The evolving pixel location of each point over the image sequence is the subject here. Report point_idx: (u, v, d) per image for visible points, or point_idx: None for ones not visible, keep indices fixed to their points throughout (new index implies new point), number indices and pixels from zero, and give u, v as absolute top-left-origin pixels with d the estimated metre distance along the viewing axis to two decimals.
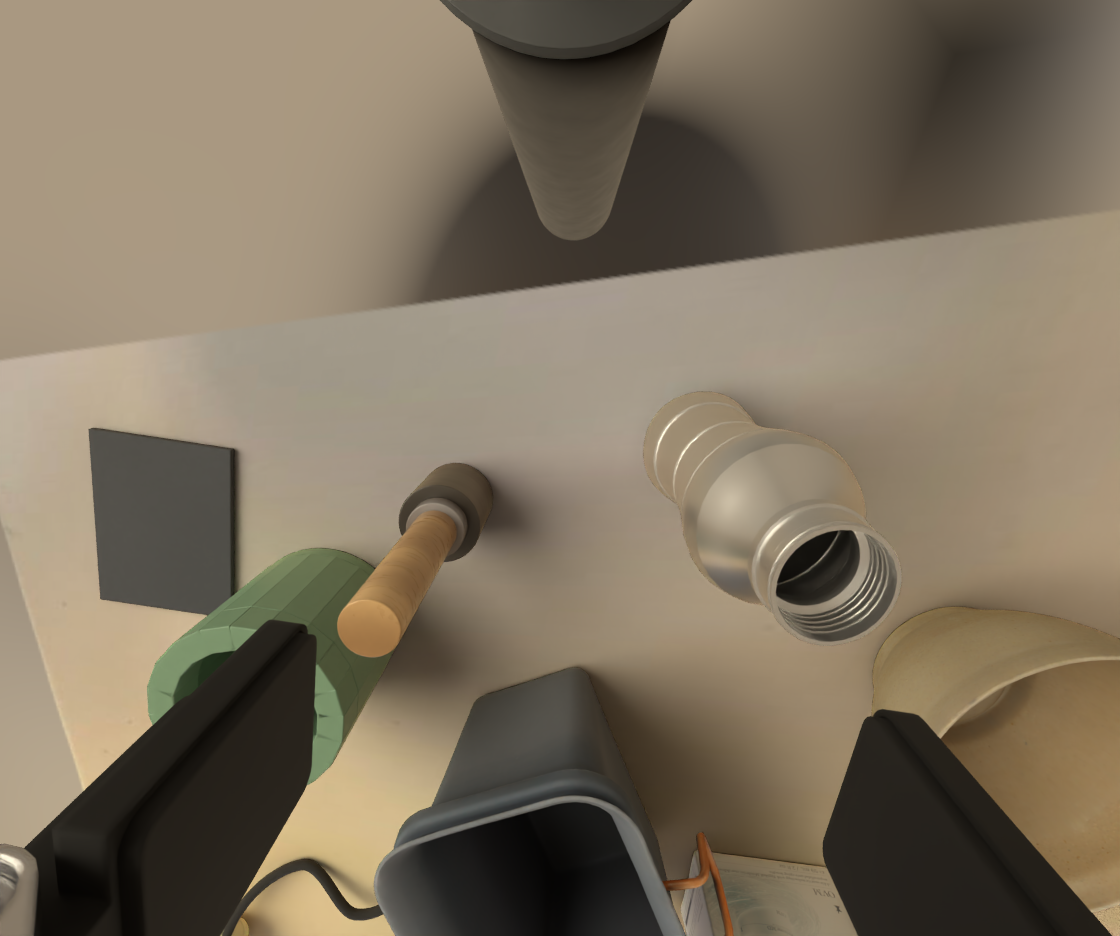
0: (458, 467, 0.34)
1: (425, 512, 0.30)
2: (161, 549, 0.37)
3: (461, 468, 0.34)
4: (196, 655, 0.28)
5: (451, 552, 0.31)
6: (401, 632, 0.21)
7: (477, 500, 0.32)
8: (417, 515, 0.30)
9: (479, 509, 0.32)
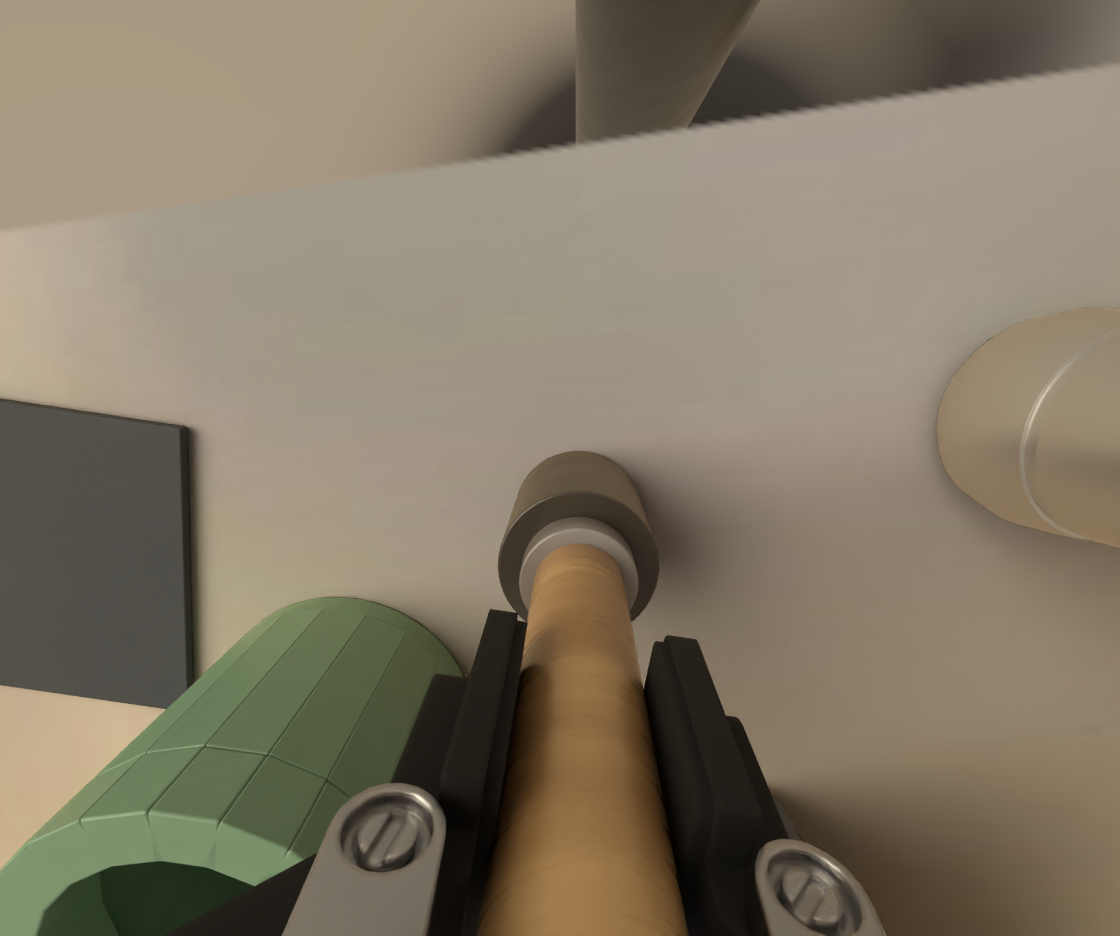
0: (589, 458, 0.19)
1: (563, 548, 0.14)
2: (67, 599, 0.22)
3: (594, 460, 0.19)
4: (76, 870, 0.13)
5: None
6: None
7: (646, 521, 0.17)
8: (545, 554, 0.15)
9: None
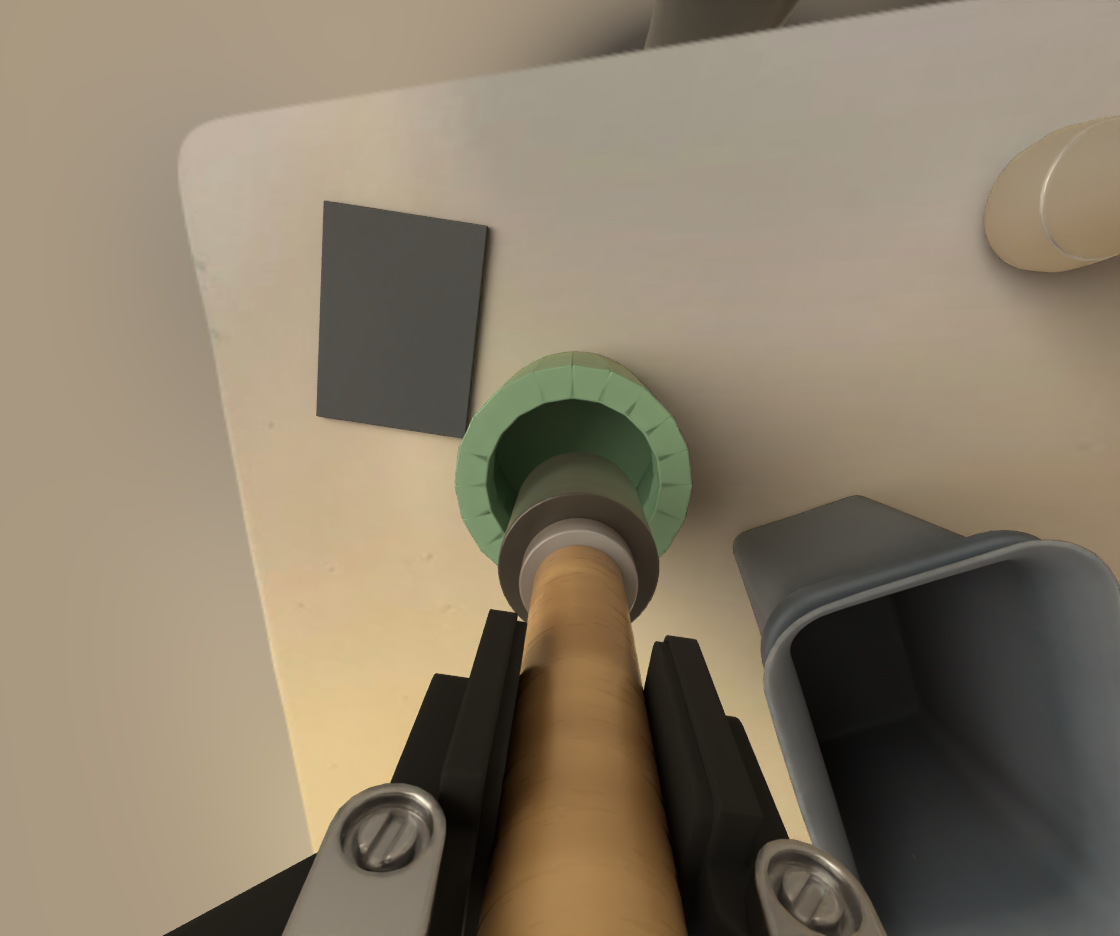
0: (589, 459, 0.19)
1: (563, 549, 0.14)
2: (393, 352, 0.32)
3: (594, 461, 0.19)
4: (525, 404, 0.23)
5: None
6: None
7: (647, 522, 0.17)
8: (544, 555, 0.15)
9: None
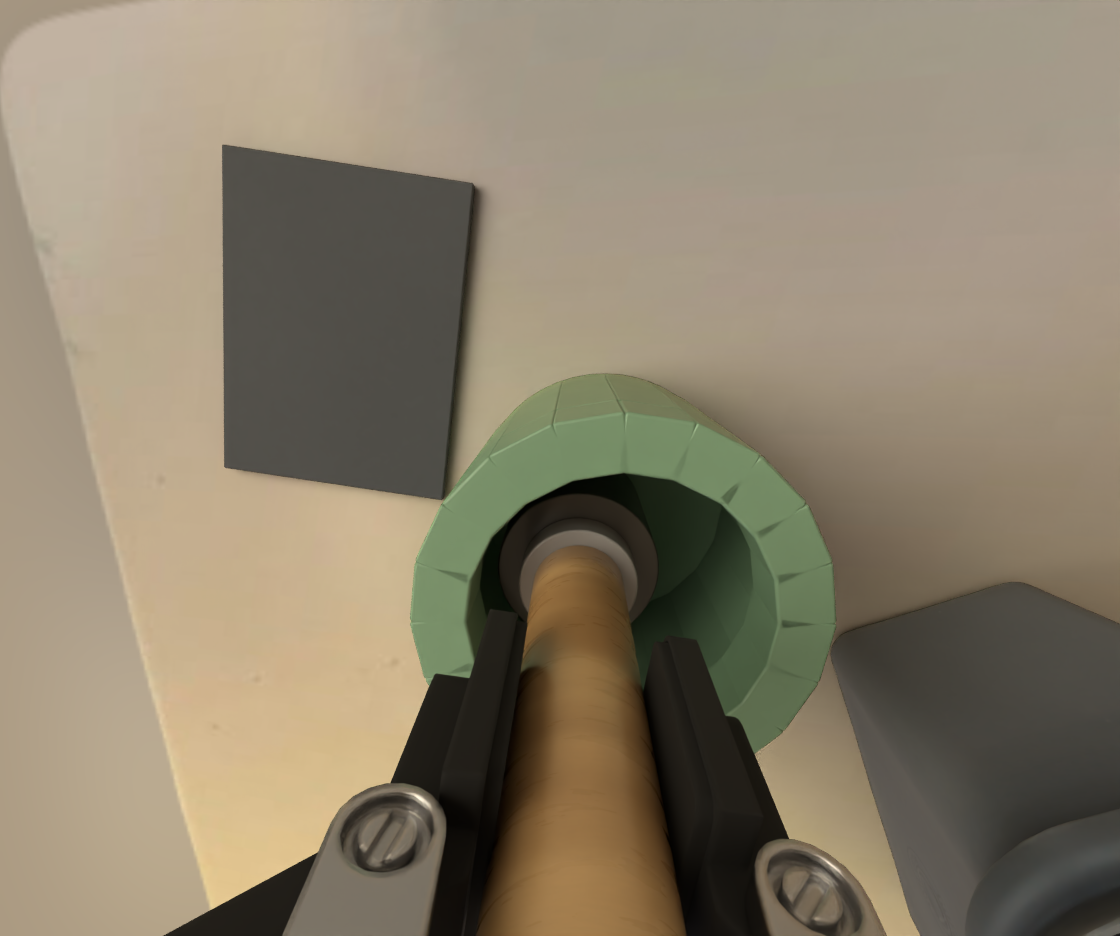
0: None
1: (563, 550, 0.14)
2: (335, 375, 0.22)
3: None
4: (537, 484, 0.13)
5: None
6: None
7: (646, 522, 0.17)
8: (544, 555, 0.15)
9: None
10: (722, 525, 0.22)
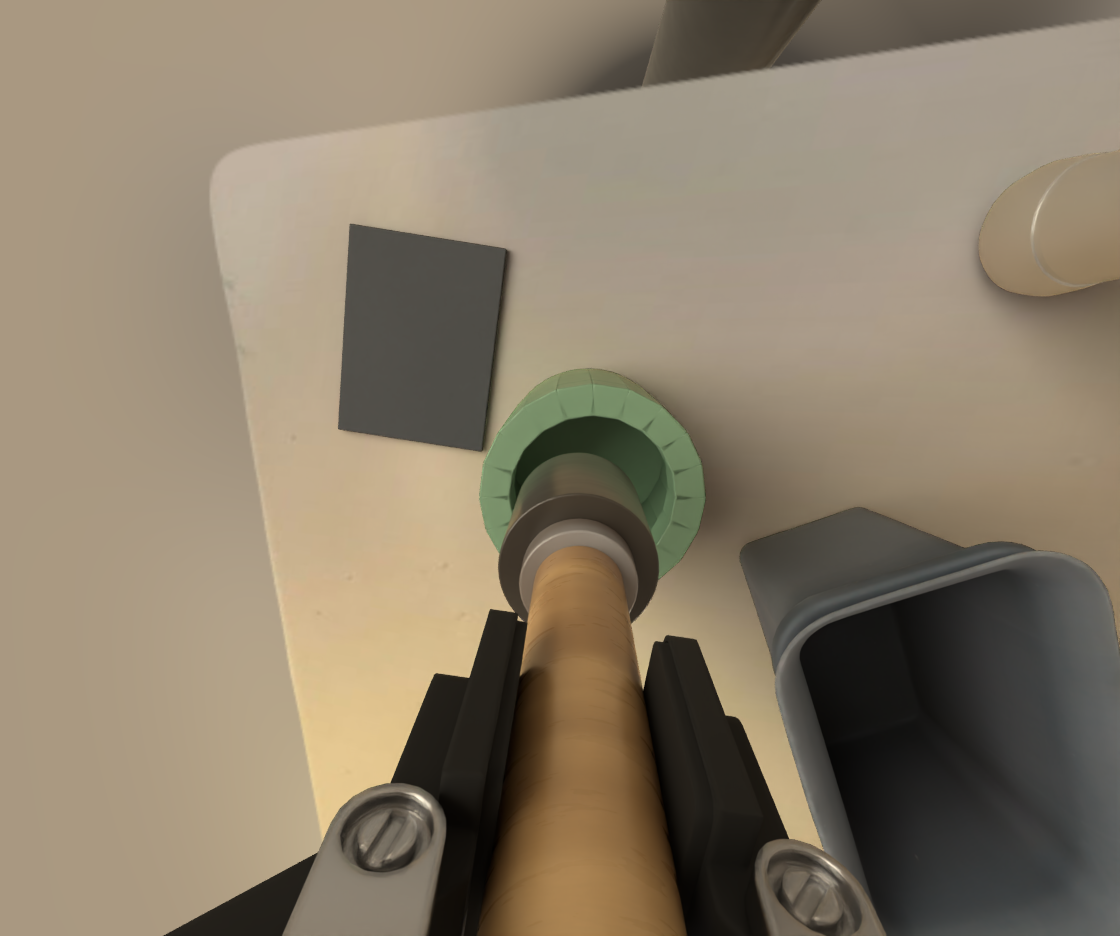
0: (588, 460, 0.19)
1: (563, 550, 0.14)
2: (414, 368, 0.34)
3: (594, 461, 0.19)
4: (548, 421, 0.25)
5: None
6: None
7: (646, 523, 0.17)
8: (545, 555, 0.15)
9: None
10: (663, 466, 0.34)
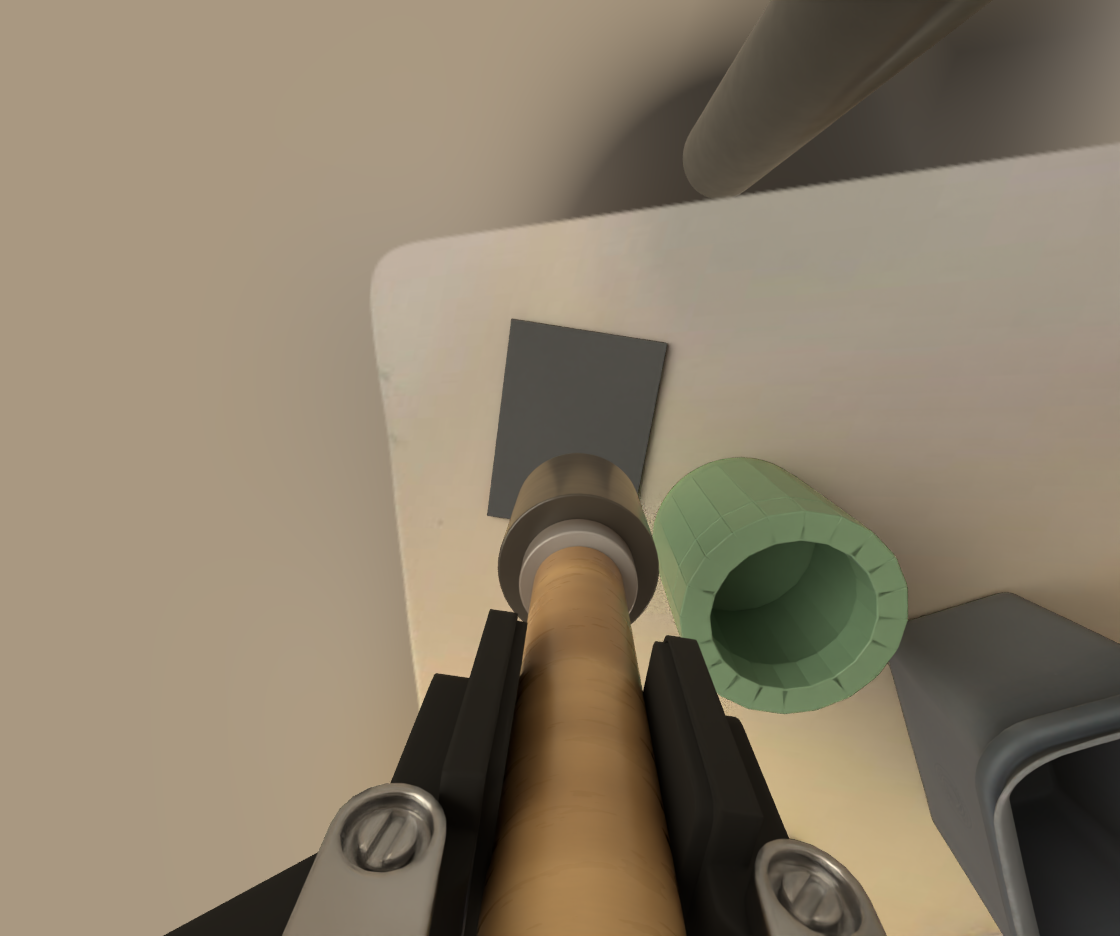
0: (588, 460, 0.19)
1: (563, 550, 0.14)
2: None
3: (594, 462, 0.19)
4: (756, 546, 0.25)
5: None
6: None
7: (646, 523, 0.17)
8: (544, 556, 0.15)
9: None
10: (817, 555, 0.34)
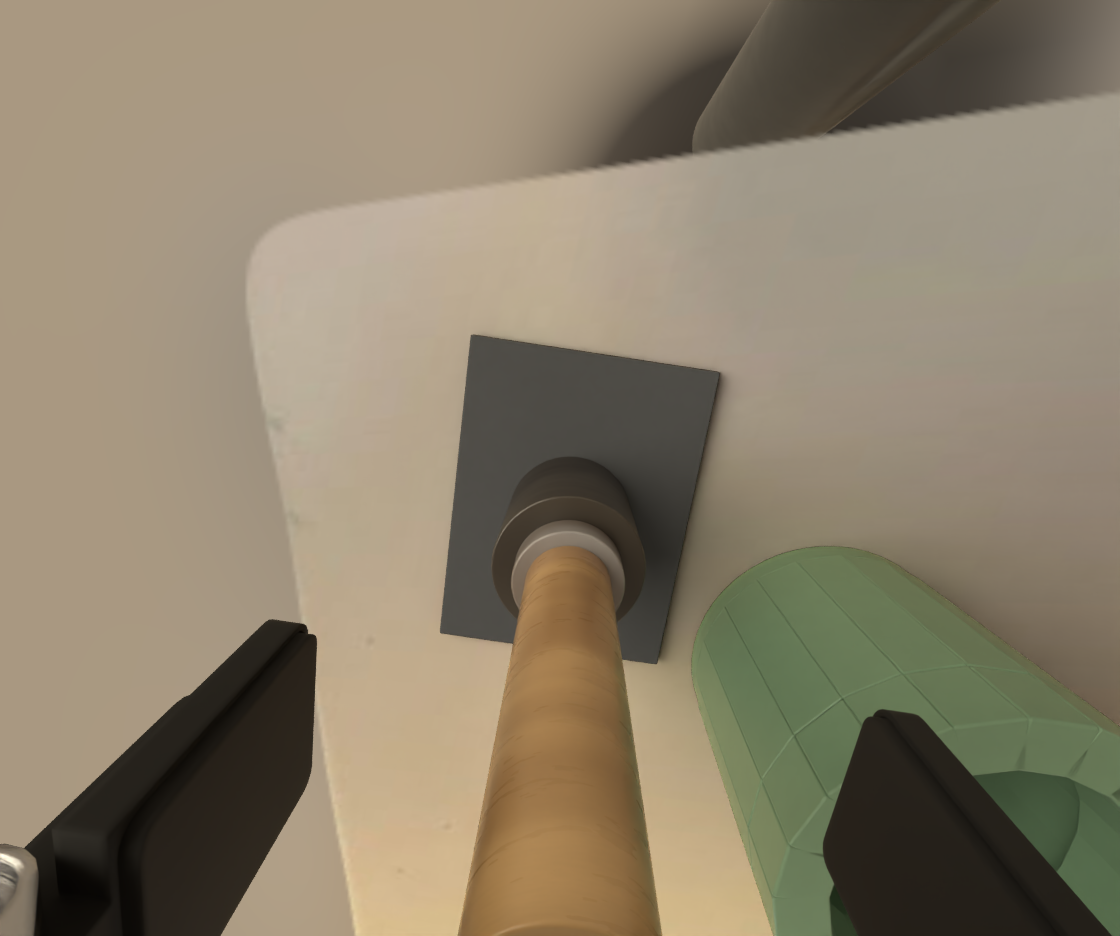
0: (579, 464, 0.20)
1: (553, 550, 0.15)
2: None
3: (585, 465, 0.20)
4: None
5: None
6: None
7: (634, 524, 0.17)
8: (535, 555, 0.15)
9: None
10: None
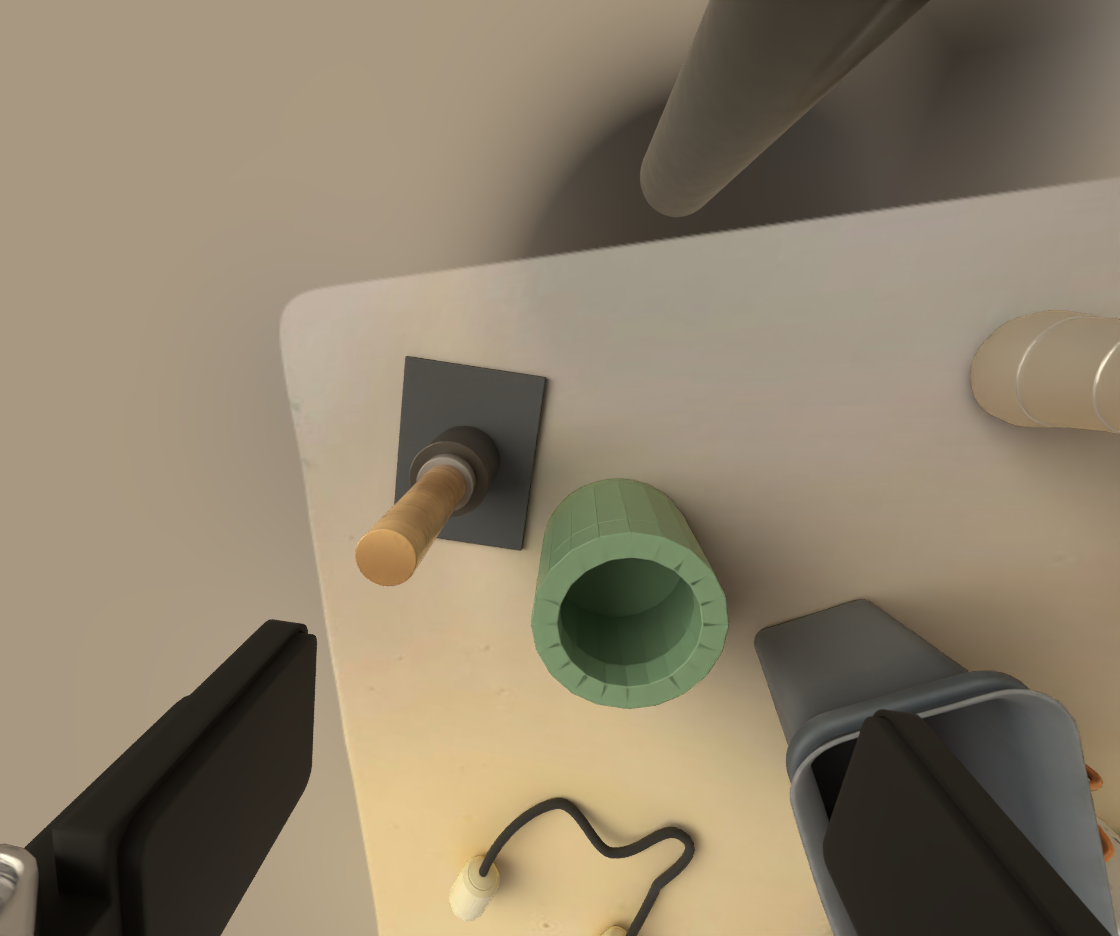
0: (466, 428, 0.35)
1: (435, 466, 0.31)
2: None
3: (469, 429, 0.35)
4: (592, 562, 0.28)
5: (460, 506, 0.32)
6: (416, 561, 0.22)
7: (485, 458, 0.33)
8: (427, 469, 0.31)
9: (487, 466, 0.33)
10: None
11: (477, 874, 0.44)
